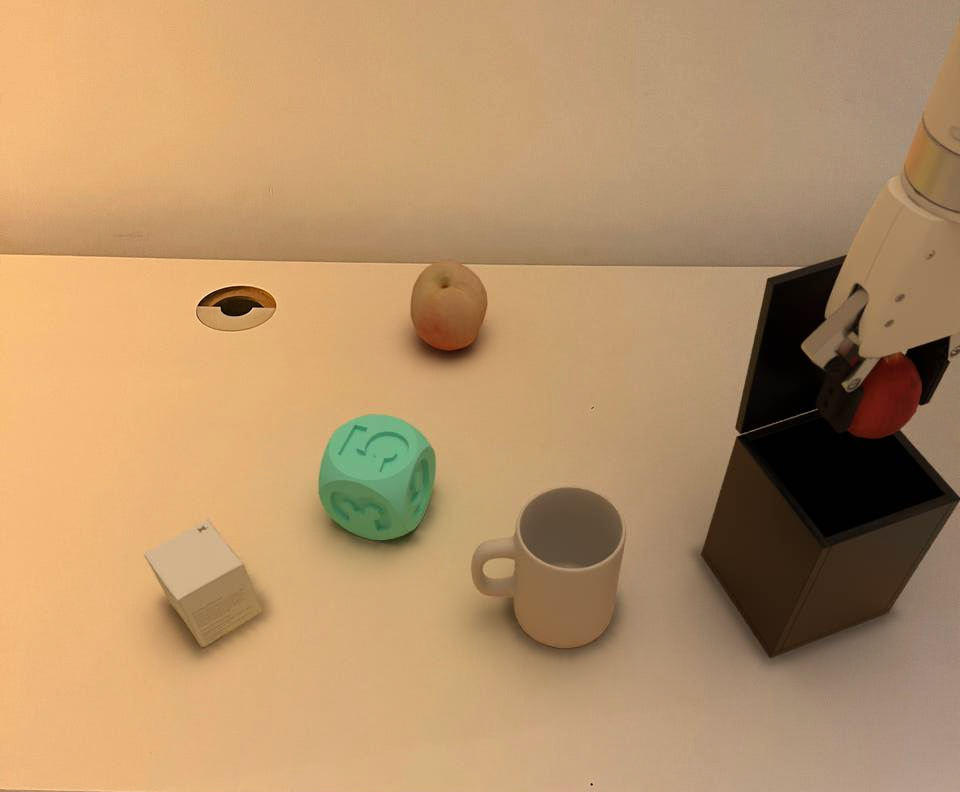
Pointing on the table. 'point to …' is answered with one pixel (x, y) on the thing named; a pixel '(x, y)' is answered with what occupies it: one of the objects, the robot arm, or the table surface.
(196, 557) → the product box
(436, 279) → the fruit
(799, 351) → the lid
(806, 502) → the dark wooden storage box
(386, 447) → the decorative dice
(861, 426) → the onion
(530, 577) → the mug
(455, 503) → the table surface
